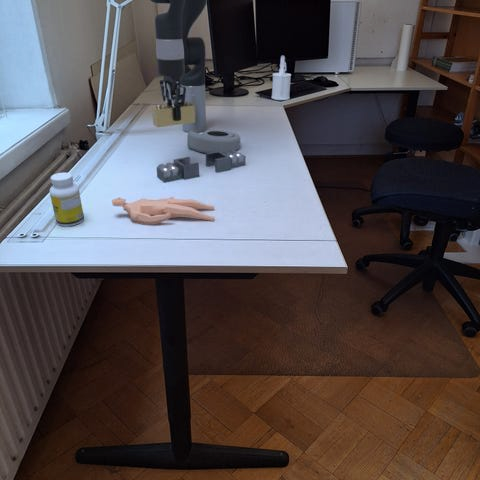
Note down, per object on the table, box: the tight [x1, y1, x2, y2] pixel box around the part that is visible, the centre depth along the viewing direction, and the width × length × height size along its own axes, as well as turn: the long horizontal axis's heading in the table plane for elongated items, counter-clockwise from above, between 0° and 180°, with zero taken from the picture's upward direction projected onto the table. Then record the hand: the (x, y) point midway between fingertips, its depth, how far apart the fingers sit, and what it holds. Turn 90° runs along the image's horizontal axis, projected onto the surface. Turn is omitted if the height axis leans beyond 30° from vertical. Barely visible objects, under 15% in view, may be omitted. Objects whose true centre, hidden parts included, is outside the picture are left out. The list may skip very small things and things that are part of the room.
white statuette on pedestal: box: [271, 55, 292, 101], centre depth 219 cm, size 10×9×20 cm
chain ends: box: [156, 150, 246, 183], centre depth 135 cm, size 7×28×4 cm, turn 122°
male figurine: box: [111, 196, 215, 226], centre depth 109 cm, size 11×5×25 cm
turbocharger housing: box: [186, 129, 241, 154], centre depth 154 cm, size 17×6×15 cm
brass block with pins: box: [151, 101, 195, 128], centre depth 130 cm, size 4×12×6 cm, turn 121°
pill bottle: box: [49, 172, 85, 227], centre depth 104 cm, size 6×6×12 cm
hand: (174, 118), depth 131 cm, fingers closed on brass block with pins, 3 cm apart
